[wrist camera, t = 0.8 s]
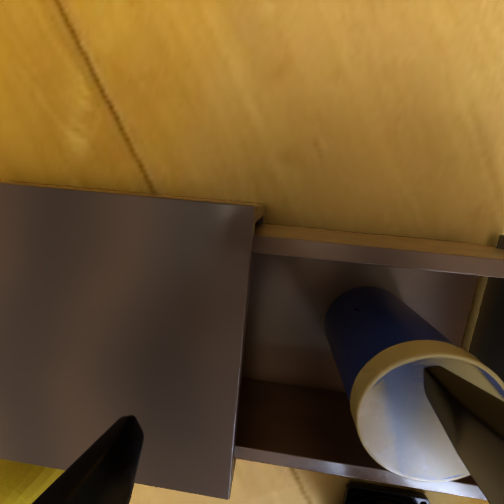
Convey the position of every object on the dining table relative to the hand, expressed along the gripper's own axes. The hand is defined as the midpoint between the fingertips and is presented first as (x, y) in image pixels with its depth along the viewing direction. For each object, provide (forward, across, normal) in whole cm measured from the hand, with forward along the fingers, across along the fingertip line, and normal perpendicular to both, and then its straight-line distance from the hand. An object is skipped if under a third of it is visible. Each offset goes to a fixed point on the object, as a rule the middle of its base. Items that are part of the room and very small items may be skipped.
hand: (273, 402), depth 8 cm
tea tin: (+9, -6, +5) cm, 12 cm away
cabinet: (+13, +11, 0) cm, 17 cm away
